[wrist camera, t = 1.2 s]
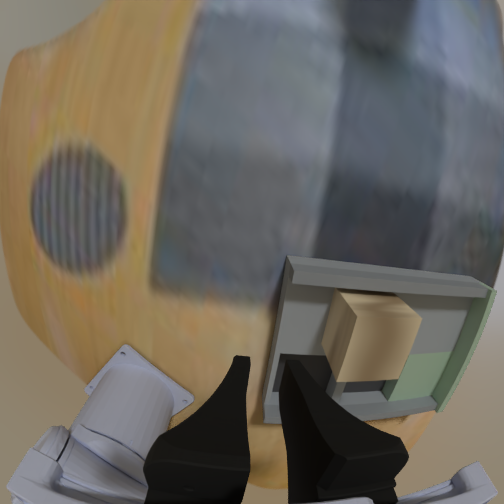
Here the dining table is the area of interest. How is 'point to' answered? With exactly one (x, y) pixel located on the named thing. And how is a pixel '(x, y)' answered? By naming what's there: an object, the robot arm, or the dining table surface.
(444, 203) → the dining table surface
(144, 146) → the dining table surface
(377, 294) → the beech cube
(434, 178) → the dining table surface
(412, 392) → the box
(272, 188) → the dining table surface
